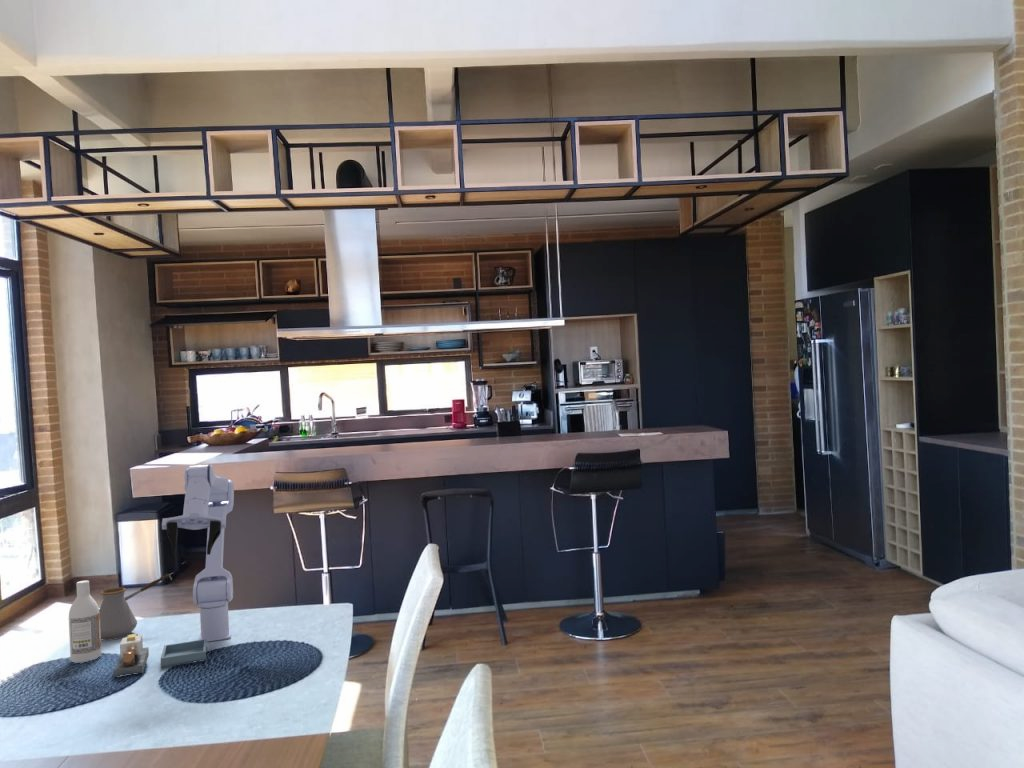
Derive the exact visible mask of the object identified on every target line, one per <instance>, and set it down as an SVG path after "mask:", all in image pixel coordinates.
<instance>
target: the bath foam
mask: <svg viewBox="0 0 1024 768" xmlns="http://www.w3.org/2000/svg"><path fill="white" fill-rule="evenodd" d="M75 585H76V598H75V599H74V601H73V602H72V605H71V606H70V608H69V610H68V611H69V612H68V630H69V631H68V632H69V633H68V634H69V654H70V657H69V658H70V662H71V661H72V662H82V661H88V660H92V659H95V658H98V657H99V656H101V657H102V640H101V633H100V612H99V609H100V607H99V605H98V603H97V601H96V600H95V599H94V597H92V595H91V593H90V591H91V588H90V581H89V580H88V579H87V580H80V581H77V582H76V584H75ZM98 659H99V658H98ZM72 662H71V663H72Z"/></svg>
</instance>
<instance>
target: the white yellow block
mask: <svg viewBox="0 0 1024 768" xmlns="http://www.w3.org/2000/svg"><path fill="white" fill-rule="evenodd" d="M136 634H137V633H132V634H131V633H130V634H129V635H128V636H126V637H123V638H122V639H121V641H120V643H119V651H120V652H119V658H120V657H123V653H125V652H129V651H134V655H137V654H141V651H142V648H144V647H143V646H144V642H143V634H140V635H139V634H138V636H136Z"/></svg>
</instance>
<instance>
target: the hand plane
mask: <svg viewBox="0 0 1024 768" xmlns="http://www.w3.org/2000/svg"><path fill="white" fill-rule="evenodd" d="M135 634H136V636H139V633H135ZM149 656H150V654H149V646H148V647H143V648H142V651H141V654H137V655H134V651H129V652H125V653H123V657H120V656H119V658H118V660H117V662H116V665H115V667H114V669H113V670H114V671H113V672H114V677H115V676H120V675H126V674H133V673H144V671H145V668H146V665H147V663H148V662H147V661H148V659H149ZM145 664H146V665H145ZM144 667H145V668H144ZM143 670H144V671H143Z"/></svg>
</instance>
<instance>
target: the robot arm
mask: <svg viewBox="0 0 1024 768" xmlns="http://www.w3.org/2000/svg"><path fill="white" fill-rule="evenodd" d="M214 471H215V470H214V467H213V464H198V465H189V466H188V468H187V467H186V468H185V470H184V491H185V493H184V502H183V503H184V504H183V510H182V511H183V512H182V515H178V516H174V517H173V516H172V517H166V518H165V517H164V518H163V517H162V519H161V520H162V521H161V530H166V534H167V538H168V539H169V542H170V546H171V549H172V553H171V554H172V556H177V542H178V536H179V530H178V529H179V528H180V529H185V530H190V531H191V530H193V531H194V530H195V531H196V530H198V531H199V530H202V529H207V532H206V536H207V537H206V550H205V551H206V554H205V566H204V567H205V568H204V569H202V570H201V571H200V572H199V573H197V574H196V575H195V577H194V583H193V587H192V600H193V601H192V602H193V604H195V606H197V607H198V609H199V615H200V616H199V619H200V620H199V621H200V622H199V623H200V632H199V639H198V640H204V639H207V643H208V642H216V641H221V640H228V639H231V638H232V628H231V627H230V621H229V620H230V619H229V602H231V601H232V600H233V598H234V583H233V581H234V579H233V576H232V573H231V572H230V571H229V570H227V569H225V568H224V545H225V529H227V528H226V527H227V515H228V514H230V512H232V511H233V508H234V504H235V503H234V501H235V486H234V485H235V484H234V482H233V480H232V479H229V478H228V477H225V476H218V475H216V473H215V472H214Z"/></svg>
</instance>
